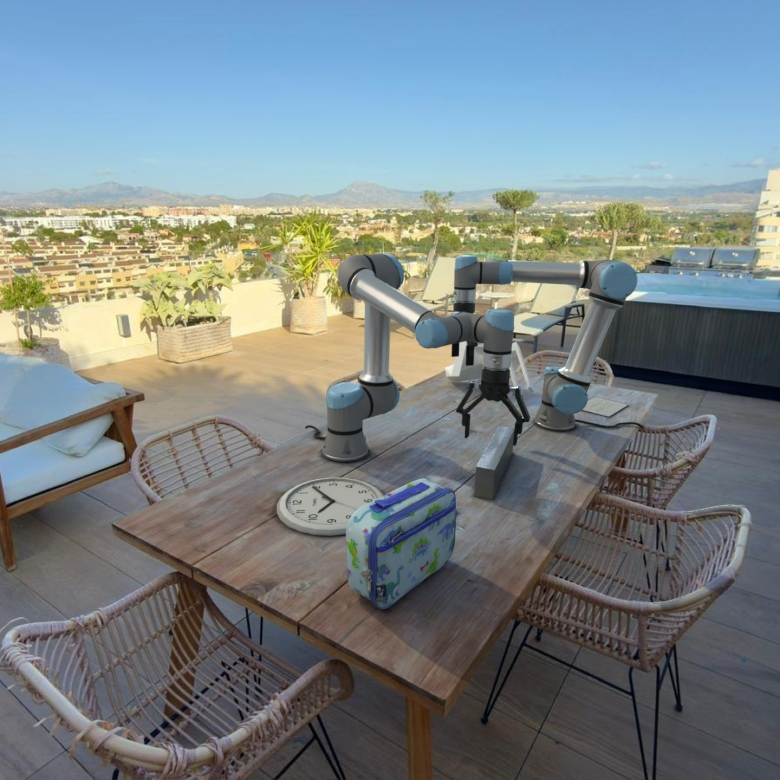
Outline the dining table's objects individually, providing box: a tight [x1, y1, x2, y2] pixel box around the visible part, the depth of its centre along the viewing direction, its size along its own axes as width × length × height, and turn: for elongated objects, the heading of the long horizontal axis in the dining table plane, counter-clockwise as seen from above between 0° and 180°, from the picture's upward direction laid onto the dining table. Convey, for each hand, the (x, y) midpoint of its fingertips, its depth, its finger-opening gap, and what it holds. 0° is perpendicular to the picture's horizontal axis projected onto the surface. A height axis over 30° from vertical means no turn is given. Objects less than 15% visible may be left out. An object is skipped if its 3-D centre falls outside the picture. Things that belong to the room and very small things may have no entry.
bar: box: [473, 425, 515, 501], centre depth 162 cm, size 34×5×9 cm, turn 158°
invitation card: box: [582, 396, 629, 418], centre depth 226 cm, size 21×1×15 cm
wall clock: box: [276, 476, 385, 537], centre depth 142 cm, size 30×2×30 cm
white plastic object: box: [444, 341, 535, 394], centre depth 249 cm, size 37×45×31 cm
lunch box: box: [345, 477, 457, 610], centre depth 110 cm, size 26×11×21 cm, turn 134°
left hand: (490, 440), depth 147 cm, fingers open, 13 cm apart
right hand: (462, 360), depth 188 cm, fingers open, 13 cm apart
